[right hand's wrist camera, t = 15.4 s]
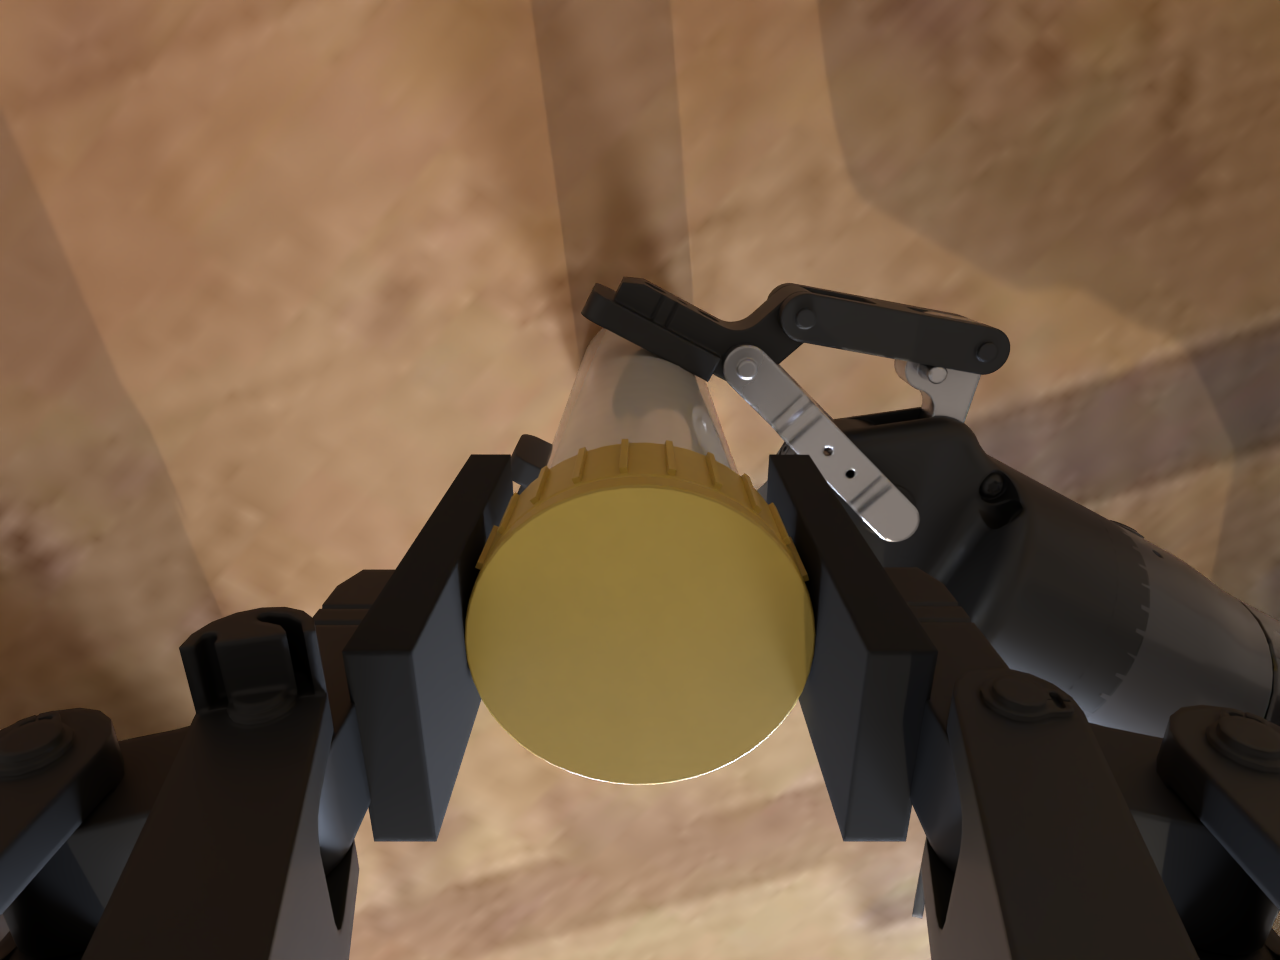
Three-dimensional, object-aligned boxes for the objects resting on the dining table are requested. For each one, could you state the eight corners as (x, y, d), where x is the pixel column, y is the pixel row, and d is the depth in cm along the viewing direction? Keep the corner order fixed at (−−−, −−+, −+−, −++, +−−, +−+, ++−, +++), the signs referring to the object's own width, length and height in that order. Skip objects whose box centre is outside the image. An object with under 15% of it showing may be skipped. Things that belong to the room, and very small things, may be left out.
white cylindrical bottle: (561, 345, 26) (444, 561, 11) (670, 294, 25) (718, 446, 10) (611, 448, 27) (574, 774, 12) (716, 403, 27) (822, 684, 11)
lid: (631, 759, 13) (629, 841, 12) (420, 576, 12) (384, 639, 10) (857, 592, 12) (893, 656, 10) (650, 368, 11) (652, 400, 9)
